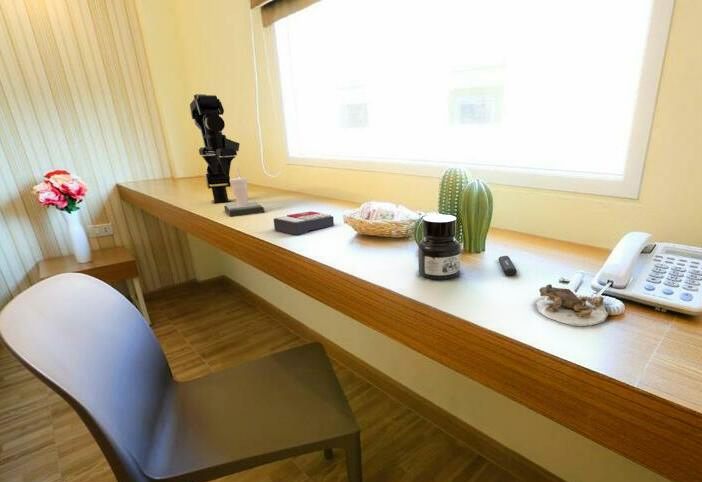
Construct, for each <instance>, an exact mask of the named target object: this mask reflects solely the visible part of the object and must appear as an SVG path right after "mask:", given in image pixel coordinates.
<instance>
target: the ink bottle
mask: <svg viewBox="0 0 702 482" xmlns="http://www.w3.org/2000/svg"><path fill="white" fill-rule="evenodd" d="M422 232H423V233H422V234H423V238H422V240H420V241H419V243H418V245H417V246H418V247H417V249H418V250H417V254H418V255H417V256H418V257H417V258H418V260H417V262H418V273H419V275H420V276H421V277H423V278H426V279H429V280H437V281H438V280H440V281H441V280H449V279H453V278H456V277H458V276H459V275H460V274H461V259H462V258H461V257H462V245H461V243H460V242H459V240H457V238H456V236H457V217H456V216H454V215H450V214H431V215H426V216H424V217H423V218H422Z"/></svg>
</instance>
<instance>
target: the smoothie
mask: <svg viewBox="0 0 702 482" xmlns="http://www.w3.org/2000/svg"><path fill="white" fill-rule="evenodd" d="M239 169H240V168H239V166H236V172H237V176H238V177H234V178H230V185H231V188H232V191H233V195H234V197H235V201H236V203H237V204H238V206H246V205H248V202H249V189H248V187H249V186H248V185H249V184H248V182H249V179H248V177H241V173H240V170H239Z"/></svg>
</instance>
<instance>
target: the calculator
mask: <svg viewBox="0 0 702 482" xmlns="http://www.w3.org/2000/svg"><path fill="white" fill-rule="evenodd" d="M334 220H335V219H334V216H333V215H332V214H328V213H322V212H317V211H305V212H299V213H293V214H292V213H291V214H287V215H283V216H276V217H274V218H273V228H274V231H277V232H281V233H287V234H290V235H294V236H298V235H303V234H307V233H308V232H310V231H315V230H319V229H324V228H328V227H333V226H334V225H335V223H334Z"/></svg>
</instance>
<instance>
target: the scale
mask: <svg viewBox="0 0 702 482" xmlns="http://www.w3.org/2000/svg"><path fill="white" fill-rule="evenodd" d="M223 207H224V211H225V213H226V214H227V215H228V216H229V217H238V216H239V217H240V216H247V215H255V214H265V208H264V206H262V205H261V204H260V203H258V202H257V201H255V200H254V201H248V205H246V206H238V204H237V202H236V203H227V204H225V205H224V206H223Z"/></svg>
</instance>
